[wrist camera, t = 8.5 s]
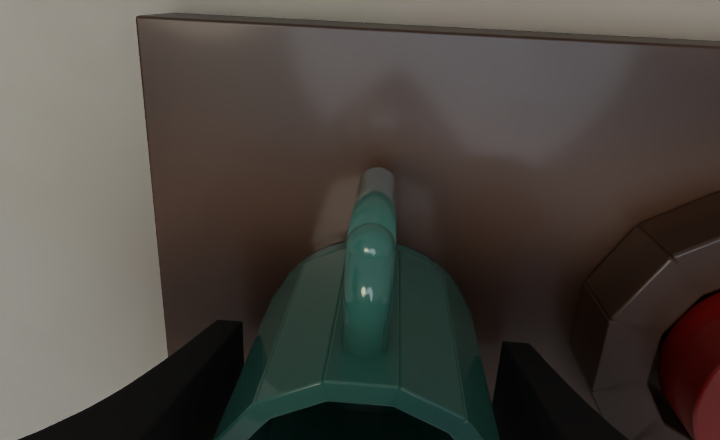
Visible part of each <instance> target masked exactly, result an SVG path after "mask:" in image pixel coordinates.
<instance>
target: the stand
mask: <svg viewBox="0 0 720 440" xmlns="http://www.w3.org/2000/svg"><path fill="white" fill-rule="evenodd" d="M136 25H137V35H138V46H139V56H140V67H141V77H142V87H143V98H144V108H145V119H146V129H147V140H148V150H149V161H150V171H151V182H152V192H153V203H154V213H155V224H156V234H157V244H158V255H159V265H160V276H161V286H162V297H163V307H164V318H165V328H166V339H167V349H168V357H169V356H171V355H172V354H173V353H175V352H176V351H177V350H179V349H180V348H181V347H183V346H184V345H185V344H187V343H188V342H189V341H190V340H192V339H193V338H194V337H196V336H197V335H198V334H199V333H201V332H202V331H203V330H204V329H206V328H207V327H208V326H210V325H211V324H212V323H214V322H215V321H216V320H230V321H243V345H244V364H245V362H246V359H247V357H248V354H249V352H250V350H251V347H252V345H253V342H254V340H255V338H256V335H257V333H258V331H259V328H260V326H261V323H262V321H263V319H264V316H265V314H266V311H267V309H268V307H269V304H270V302H271V299H272V297H273V296H274V294H275V293H276V292H277V291H278V289H279V287H280V285H281V284H282V282H283V280H284V279H285V278H286V277H287V275H288V274H289V273H290V272H291V271H292V270H293V269H294V268H295V267H296V266H297V265H298V264H299V263H300V262H302V261H303V260H304V259H306V258H307V257H309V256H310V255H312V254H314V253H316V252H318V251H320V250H321V249H324V248H327V247H329V246H332V245H335V244H339V243H344V242H346V239H347V235H348V230H349V225H350V221H351V216H352V211H353V207H354V202H355V197H356V192H357V188H358V183H359V180H360V178H361V176H362V174H363V173H364V172H365V171H367V170H368V169H371V168H374V167H381V168H385V169H387V170H388V171H390V172H391V173H392V174H393V176H394V177H395V180H396V183H397V210H396V244H399V245H403V246H405V247H408V248H411V249H413V250H416V251H418V252H419V253H421V254H423V255H425V256H427V257H428V258H430V259H431V260H433V261H434V262H435V263H437V264H438V265H439V266H441V267H442V268H443V269H444V270H445V271H446V272H447V273H448V274H449V275H450V276H451V278H452V279H453V280H454V281H455V283H456V284H457V286H458V287H459V289H460V291H461V292H462V294H463V296H464V299H465V301H466V303H467V306H468V307H469V309H470V311H471V315H472V320H473V324H474V328H475V333H476V337H477V342H478V346H479V350H480V355H481V359H482V364H483V368H484V372H485V377H486V381H487V386H488V390H489V394H490V399H491V403H492V401H493V395H494V389H495V383H496V377H497V371H498V365H499V359H500V353H501V347H502V341H509V342H522V343H529V344H530V345H531V346H532V347H533V348H534V349H535V350H536V351H537V352H538V353H539V354H540V355H541V356H542V357H543V358H544V359H545V360H546V362H547V363H548V364H549V365H550V366H551V367H552V368H553V369H554V370H555V371H556V372H557V373H558V374H559V375H560V376H561V377H562V378H563V379H564V381H565V382H566V383H567V384H568V385H569V386H570V387H571V388H572V389H573V390H574V391H575V392H576V393H577V394H578V395H579V396H580V397H581V398H582V399H584V400H585V401H586V402H587V403H588V404H589V405H590V406H591V407H592V408H593V409H594V410H595V411H596V412H597V413H599V414H600V415H601V416H602V417H603V418H604V419H605V420H607V421H608V422H609V423H610V424H611V425H612V426H613V427H614V428H616V429H617V430H618V431H619V432H620V433H622V434H623V435H624V436H625V437H627V438H628V439H629V440H693V439H692V438H691V436H690V435H689V433H688V432H687V430H686V429H685V427H684V426H683V424H682V423H681V421H680V420H679V418H678V417H677V415H676V414H675V412H674V411H673V409H672V407H671V406H670V404H669V403H668V401H667V400H666V398H665V396H664V394H663V392H662V390H661V387H660V384H659V378H658V361H659V356H660V351H661V349H662V346H663V343H664V341H665V339H666V337H667V336H668V334H669V332H670V331H671V329H672V328H673V327H674V325H675V324H676V323H677V322H678V320H679V319H680V318H681V317H682V316H683V315H684V314H685V313H686V312H688V311H689V310H690V309H691V308H692V307H693V306H695V305H696V304H698V303H699V302H701V301H702V300H703V299H705V298H707V297H709V296H711V295H712V294H714V293H716V292H719V291H720V41H705V40H686V39H666V38H647V37H628V36H609V35H590V34H571V33H551V32H532V31H513V30H494V29H475V28H455V27H436V26H417V25H398V24H379V23H359V22H340V21H321V20H302V19H283V18H264V17H244V16H225V15H206V14H187V13H166V14H153V15H140V16H137V17H136Z"/></svg>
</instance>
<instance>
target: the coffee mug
mask: <svg viewBox="0 0 720 440" xmlns="http://www.w3.org/2000/svg"><path fill="white" fill-rule="evenodd" d="M396 210H397V183H396V180H395V177H394V176H393V174H392V173H391V172H390V171H388V170H387V169H385V168H381V167H374V168H371V169H368V170H367V171H365V172H364V173H363V174H362V176H361V178H360V180H359V183H358V188H357V192H356V197H355V202H354V207H353V211H352V216H351V221H350V225H349V230H348V235H347V239H346V242H344V243H339V244H335V245H332V246H329V247H327V248H324V249H321V250H320V251H318V252H316V253H314V254H312V255H310V256H309V257H307V258H306V259H304V260H303V261H302V262H300V263H299V264H298V265H297V266H296V267H295V268H294V269H293V270H292V271H291V272H290V273H289V274H288V275H287V277H286V278H285V279H284V280H283V282H282V284H281V285H280V287H279V289H278V291H277V292H276V293H275V294H274V296H273V297H272V299H271V302H270V304H269V307H268V309H267V311H266V314H265V316H264V319H263V321H262V323H261V326H260V328H259V331H258V333H257V335H256V338H255V340H254V342H253V345H252V347H251V350H250V352H249V354H248V357H247V359H246V362H245V364H244V366H243V369H242V371H241V374H240V376H239V378H238V381H237V383H236V386H235V388H234V390H233V393H232V395H231V397H230V400H229V402H228V405H227V407H226V409H225V412H224V414H223V417H222V419H221V421H220V424H219V426H218V429H217V431H216V433H215V436H214V438H213V440H500V438H499V434H498V430H497V425H496V421H495V416H494V412H493V408H492V403H491V399H490V394H489V390H488V386H487V381H486V377H485V372H484V368H483V364H482V359H481V355H480V350H479V346H478V342H477V337H476V333H475V328H474V324H473V320H472V315H471V311H470V309H469V307H468V306H467V303H466V301H465V299H464V296H463V294H462V292H461V291H460V289H459V287H458V286H457V284H456V283H455V281H454V280H453V279H452V278H451V276H450V275H449V274H448V273H447V272H446V271H445V270H444V269H443V268H442V267H441V266H439V265H438V264H437V263H435V262H434V261H433V260H431V259H430V258H428V257H427V256H425V255H423V254H421V253H419V252H418V251H416V250H413V249H411V248H408V247H405V246H403V245H399V244H396Z"/></svg>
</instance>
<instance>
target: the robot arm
mask: <svg viewBox="0 0 720 440" xmlns="http://www.w3.org/2000/svg"><path fill="white" fill-rule="evenodd" d="M243 366H244V345H243V321H230V320H216V321H215V322H214V323H212V324H211V325H210V326H208V327H207V328H206V329H204V330H203V331H202V332H201V333H199V334H198V335H197V336H196V337H194V338H193V339H192V340H190V341H189V342H188V343H187V344H185V345H184V346H183V347H181V348H180V349H179V350H177V351H176V352H175V353H173V354H172V355H171V356H169V357H168V358H167V359H165V360H164V361H163V362H161V363H160V364H158V365H157V366H155V367H154V368H152V369H151V370H150V371H148V372H147V373H145V374H144V375H142V376H141V377H139V378H138V379H136V380H135V381H133V382H132V383H130V384H129V385H127V386H126V387H124V388H122V389H121V390H119V391H117V392H116V393H114V394H112V395H111V396H109V397H107V398H105V399H104V400H102V401H100V402H98V403H96V404H95V405H93V406H91V407H89V408H87V409H85V410H83V411H81V412H79V413H77V414H75V415H73V416H71V417H68V418H66V419H64V420H62V421H60V422H58V423H56V424H54V425H51V426H49V427H47V428H45V429H43V430H41V431H38V432H36V433H33V434H31V435H28V436H26V437H23V438H21V439H18V440H213V438H214V436H215V433H216V431H217V429H218V426H219V424H220V421H221V419H222V417H223V414H224V412H225V409H226V407H227V405H228V402H229V400H230V397H231V395H232V393H233V390H234V388H235V386H236V383H237V381H238V378H239V376H240V374H241V371H242V369H243ZM492 408H493V412H494V416H495V421H496V425H497V430H498V434H499V438H500V440H629V439H628V438H627V437H625V436H624V435H623V434H622V433H620V432H619V431H618V430H617V429H616V428H614V427H613V426H612V425H611V424H610V423H609V422H608V421H607V420H605V419H604V418H603V417H602V416H601V415H600V414H599V413H597V412H596V411H595V410H594V409H593V408H592V407H591V406H590V405H589V404H588V403H587V402H586V401H585V400H584V399H582V398H581V397H580V396H579V395H578V394H577V393H576V392H575V391H574V390H573V389H572V388H571V387H570V386H569V385H568V384H567V383H566V382H565V381H564V379H563V378H562V377H561V376H560V375H559V374H558V373H557V372H556V371H555V370H554V369H553V368H552V367H551V366H550V365H549V364H548V363H547V362H546V360H545V359H544V358H543V357H542V356H541V355H540V354H539V353H538V352H537V351H536V350H535V349H534V348H533V347H532V346H531V345H530V344H529V343H522V342H509V341H502V347H501V353H500V359H499V365H498V371H497V377H496V383H495V389H494V395H493V401H492Z"/></svg>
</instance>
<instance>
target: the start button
mask: <svg viewBox="0 0 720 440" xmlns="http://www.w3.org/2000/svg"><path fill="white" fill-rule="evenodd" d="M658 378H659V384H660V387H661V390H662V392H663V394H664V396H665V398H666V400H667V401H668V403H669V404H670V406H671V407H672V409H673V411H674V412H675V414H676V415H677V417H678V418H679V420H680V421H681V423H682V424H683V426H684V427H685V429H686V430H687V432H688V433H689V435H690V436H691V438H692V439H693V440H720V291H719V292H716V293H714V294H712V295H711V296H709V297H707V298H705V299H703V300H702V301H701V302H699V303H698V304H696V305H695V306H693V307H692V308H691V309H690V310H689V311H688V312H686V313H685V314H684V315H683V316H682V317H681V318H680V319H679V320H678V322H677V323H676V324H675V325H674V327H673V328H672V329H671V331H670V332H669V334H668V336H667V337H666V339H665V341H664V343H663V346H662V349H661V351H660V356H659V361H658Z"/></svg>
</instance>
